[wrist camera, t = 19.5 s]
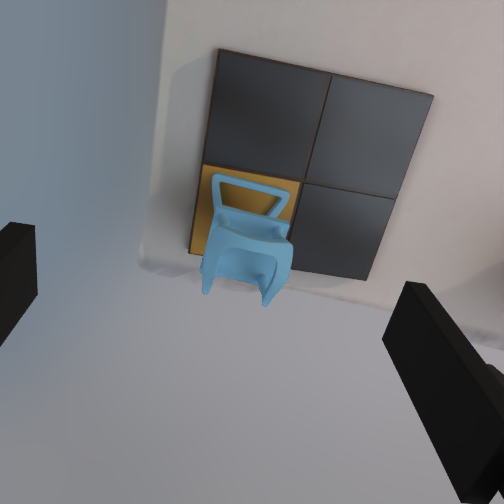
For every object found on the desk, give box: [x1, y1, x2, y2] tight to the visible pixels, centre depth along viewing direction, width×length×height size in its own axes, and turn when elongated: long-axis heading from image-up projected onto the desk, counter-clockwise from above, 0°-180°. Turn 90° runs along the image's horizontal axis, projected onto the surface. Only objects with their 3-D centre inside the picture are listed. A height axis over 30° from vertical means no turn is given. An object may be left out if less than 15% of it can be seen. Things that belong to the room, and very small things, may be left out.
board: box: [188, 48, 434, 281], centre depth 43 cm, size 20×20×1 cm
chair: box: [200, 172, 293, 307], centre depth 38 cm, size 8×8×12 cm
